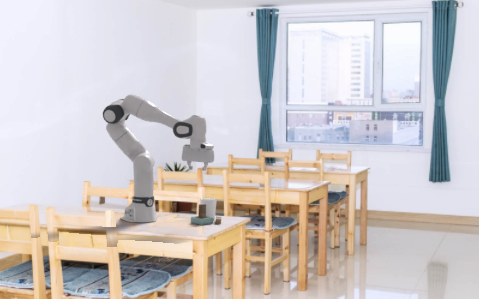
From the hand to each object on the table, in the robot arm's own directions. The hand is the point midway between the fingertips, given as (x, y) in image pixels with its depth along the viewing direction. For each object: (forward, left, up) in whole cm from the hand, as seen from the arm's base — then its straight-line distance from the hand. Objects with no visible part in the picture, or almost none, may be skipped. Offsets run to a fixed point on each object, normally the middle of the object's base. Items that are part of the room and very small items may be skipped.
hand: (197, 170), depth 331 cm
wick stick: (-4, +8, -30) cm, 31 cm away
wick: (0, +17, -31) cm, 36 cm away
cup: (-4, +8, -31) cm, 32 cm away
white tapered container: (-13, +21, -31) cm, 40 cm away
